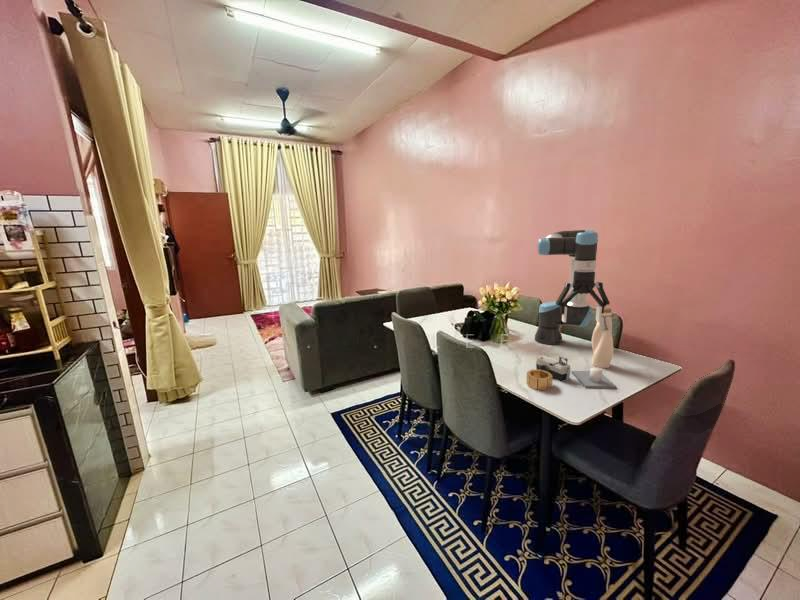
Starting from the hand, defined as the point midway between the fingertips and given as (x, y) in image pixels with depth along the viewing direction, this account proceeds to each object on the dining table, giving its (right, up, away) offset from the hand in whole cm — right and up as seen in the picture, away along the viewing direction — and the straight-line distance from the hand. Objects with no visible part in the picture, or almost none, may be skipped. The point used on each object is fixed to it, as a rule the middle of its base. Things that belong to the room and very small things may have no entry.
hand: (580, 321), depth 135 cm
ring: (-16, -28, +4) cm, 32 cm away
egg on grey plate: (+9, -26, +7) cm, 29 cm away
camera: (-6, -26, +13) cm, 30 cm away
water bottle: (+22, -23, +21) cm, 38 cm away
